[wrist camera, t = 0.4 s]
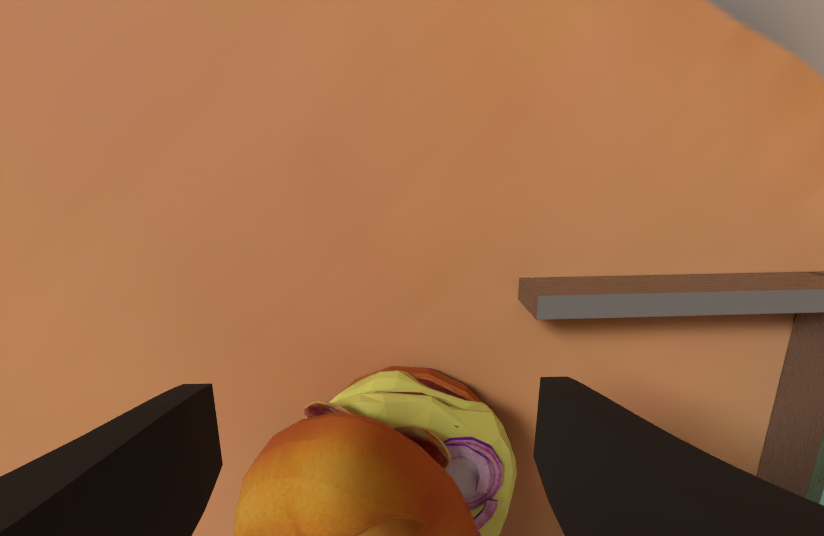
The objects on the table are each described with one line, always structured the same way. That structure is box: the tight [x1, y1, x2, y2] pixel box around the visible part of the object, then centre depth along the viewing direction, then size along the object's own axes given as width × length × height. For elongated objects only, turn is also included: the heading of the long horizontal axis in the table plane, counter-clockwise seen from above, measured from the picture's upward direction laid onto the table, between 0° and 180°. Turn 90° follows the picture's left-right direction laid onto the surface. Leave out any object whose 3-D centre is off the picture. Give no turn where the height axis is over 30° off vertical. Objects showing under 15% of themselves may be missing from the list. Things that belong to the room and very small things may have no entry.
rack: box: [518, 272, 824, 505], centre depth 20 cm, size 17×14×3 cm
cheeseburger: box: [234, 366, 517, 536], centre depth 17 cm, size 10×11×10 cm
